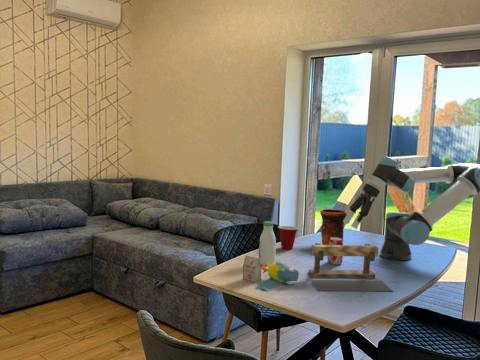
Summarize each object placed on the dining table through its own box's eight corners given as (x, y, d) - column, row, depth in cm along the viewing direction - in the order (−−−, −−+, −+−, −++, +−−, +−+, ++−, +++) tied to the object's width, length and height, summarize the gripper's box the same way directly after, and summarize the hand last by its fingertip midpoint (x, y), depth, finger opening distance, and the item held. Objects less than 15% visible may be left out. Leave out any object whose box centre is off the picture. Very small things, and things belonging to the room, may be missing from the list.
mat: (381, 281, 189) (381, 280, 188) (392, 291, 177) (392, 290, 177) (311, 281, 187) (311, 279, 187) (317, 291, 175) (317, 289, 175)
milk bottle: (278, 263, 211) (279, 222, 209) (268, 267, 205) (269, 224, 203) (265, 260, 216) (267, 219, 214) (255, 263, 210) (256, 221, 208)
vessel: (312, 243, 251) (315, 208, 249) (334, 242, 257) (336, 208, 255) (327, 250, 238) (330, 213, 236) (349, 248, 243) (352, 212, 242)
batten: (375, 254, 193) (376, 245, 193) (378, 256, 190) (378, 247, 190) (311, 253, 192) (312, 244, 192) (313, 255, 189) (313, 246, 189)
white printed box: (248, 277, 190) (248, 254, 189) (260, 280, 186) (261, 257, 184) (242, 279, 187) (243, 256, 186) (255, 283, 183) (256, 259, 182)
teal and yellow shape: (279, 251, 201) (310, 258, 193) (278, 270, 202) (309, 277, 194) (248, 266, 177) (282, 274, 169) (247, 287, 178) (281, 296, 170)
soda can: (342, 265, 210) (343, 240, 209) (327, 264, 211) (328, 239, 210) (342, 261, 217) (343, 237, 216) (327, 260, 218) (328, 236, 217)
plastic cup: (300, 248, 241) (301, 226, 239) (291, 252, 232) (292, 229, 230) (282, 245, 246) (283, 223, 245) (273, 249, 237) (274, 226, 236)
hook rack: (370, 273, 199) (372, 242, 198) (378, 280, 190) (380, 248, 188) (308, 272, 198) (309, 242, 196) (313, 280, 188) (314, 247, 187)
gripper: (358, 181, 222) (335, 217, 222) (376, 184, 197) (350, 225, 197) (371, 189, 222) (348, 225, 223) (390, 193, 197) (364, 233, 198)
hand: (349, 225), depth 210 cm, fingers open, 13 cm apart
